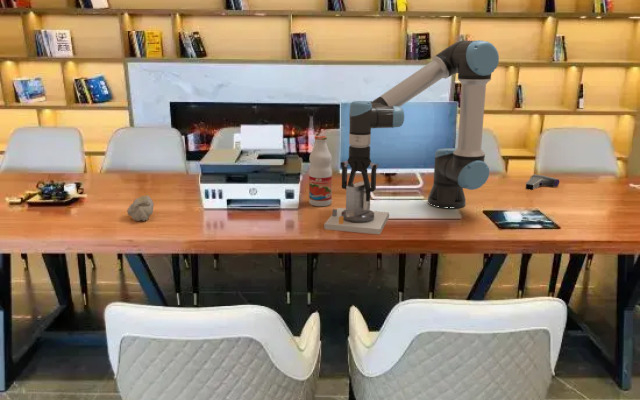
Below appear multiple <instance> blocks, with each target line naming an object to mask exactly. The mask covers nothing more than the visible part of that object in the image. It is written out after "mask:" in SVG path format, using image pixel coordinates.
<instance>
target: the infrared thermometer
mask: <svg viewBox="0 0 640 400" xmlns="http://www.w3.org/2000/svg"><path fill="white" fill-rule="evenodd" d="M559 185H560V179H559V178H556V177H555V178H554V177H551V176H547V175H542V174H541V175H540V174H536V173H535V174H532V175H531V176H530V178H529V179H528V180H527V181H526V183H525V190H529V189H530V190H531V191H534V190H535V188H536V189H538V188H540V187H541V186H542V187H550V186H551V188H553V187H554V188H556V187H558V186H559Z"/></svg>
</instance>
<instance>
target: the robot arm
mask: <svg viewBox="0 0 640 400" xmlns="http://www.w3.org/2000/svg"><path fill="white" fill-rule="evenodd" d="M499 60H500V56H499V52H498V49H497V48H496V46H495V45H494V44H493V43H491V42H489V41H484V40H481V39H480V40H479V39H478V40H459V41H457V42H454V43H453V44H451V45H448V46H447V47H446V48H445V49H443V50H441V51H440V52H438V53H437V54H436V55H434V56H432V58H431V61H430V62H429V63H427V64H425V65H424V66H423V67H421V68H420V69H418V70H417V71H415V72H413V73H412V74H411V75H409V76H407V77H406V78H405V79H403V80H402V81H401V82H399V83H397V84H396V85H395V86H393V87H392V88H390V89H389V90H387V91H386V92H384V93H383V94H381V95H380V96H379V97H377V98H375V99H374V100H371V101H370V100H369V101H366V100H355V101H354V100H353V101H352V102H350V105H349V115H348V116H349V132H348V133H349V134H348V137H349V138H348V143H349V146H348V159H347V160H342V161H341V162H340V167H341V189H344V190H346V186H348V185H351V184H354V180H355V176H356V174H357V172H359V173H361V175H362V181H364V185H365V190H366V191H365V192H364V203H363V210H366V209H367V205H368V201H369V200H370V201H371V193H373V192H374V191H376V190H377V189H376V188H377V171H378V170H377V169H378V167H379V164H378V163H374V162H372V160H371V137H372V136H371V135H372V129H391V128H392V129H394V128H401V127H402V126H403V124H404V122H405V111H404V109H403V107H402V106H403V105H405V104H406V103H407V102H410V100H412V99H413V98H415V97H417V96H418V95H420V94H421V93H423V92H424V91H425V90H427V89H428V88H430V87H431V86H433V85H434V84H436V83H438V82H439V81H440V80H442V79H445V80H446V79H448V78H450V77H452V76H453V75H456V74H457V81H459V83H460V84H461V87H460V88H461V93H460V104H459V106H460V107H459V118H458V119H459V121H458V124H459V125H458V137H457V148H455V147H454V148H449V147H448V148H447V147H446V148H439V149H437V150H436V151H435V154H434V168H433V182H432V183H433V184H432V187H431V189H430V192H429V194H428V197H427V203H428V202H429V203H430V204H432V205H435V206H439V207H448V208H450V207H455V208H454V209H460V208H464V207H465V206H466V195H465V192H464V189H467V190H470V191H472V190H477V189H480V188H482V187H483V186H484V185H485V184H486V182H487V181H488V180H489V176H490V167H489V166H488V164H487V163H486V162H485V157H486V156H485V155H486V153H485V151H483V150H482V139H483V128H484V114H485V106H486V105H485V103H486V89H487V84H488V83H489V82H490V81H491V80H492V74H493V73H494V71H495V69H497V67H498V65H499V62H500V61H499ZM349 166H350V172H349V173H350V174H349V178H348V167H349ZM369 167H370V170H371V171H370V180H369V174H368V168H369ZM369 182H371V188H370V183H369ZM429 203H428V204H429ZM430 204H429V205H430ZM432 205H431V206H432ZM435 206H434V207H435ZM439 207H438V208H439ZM448 208H447V209H448Z"/></svg>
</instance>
